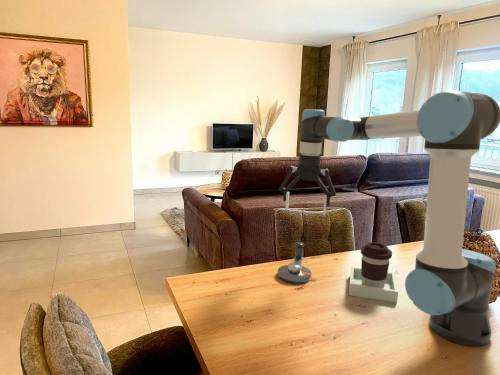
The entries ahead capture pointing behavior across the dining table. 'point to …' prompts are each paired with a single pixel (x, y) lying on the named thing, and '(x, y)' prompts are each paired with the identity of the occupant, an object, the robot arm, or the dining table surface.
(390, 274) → the tray
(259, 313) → the dining table surface
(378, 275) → the coffee cup
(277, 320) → the dining table surface
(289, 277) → the grey round base
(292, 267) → the crank
